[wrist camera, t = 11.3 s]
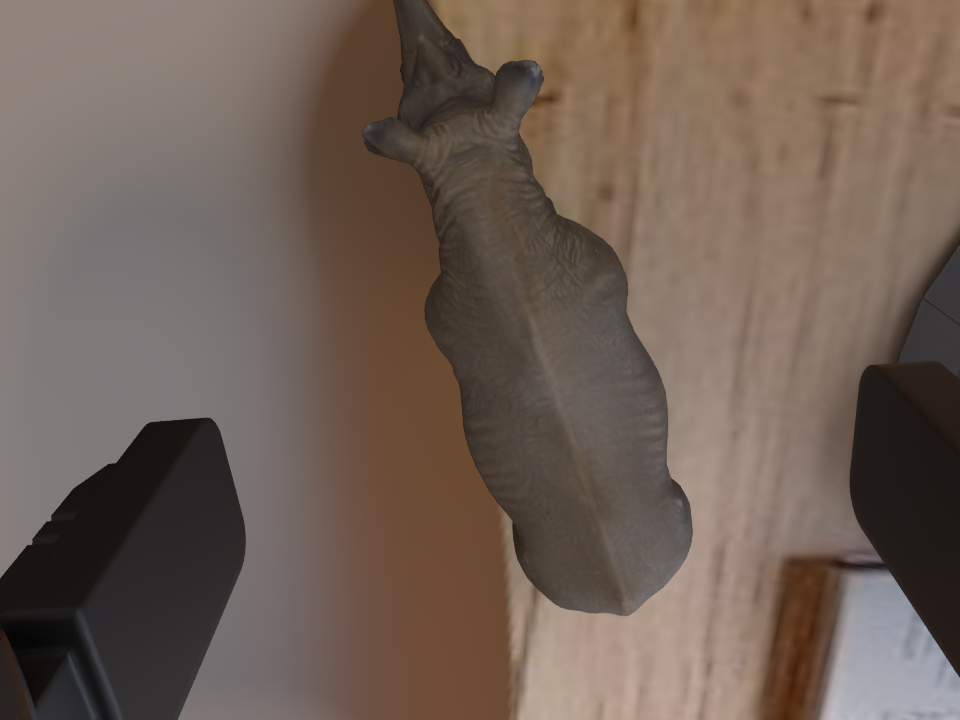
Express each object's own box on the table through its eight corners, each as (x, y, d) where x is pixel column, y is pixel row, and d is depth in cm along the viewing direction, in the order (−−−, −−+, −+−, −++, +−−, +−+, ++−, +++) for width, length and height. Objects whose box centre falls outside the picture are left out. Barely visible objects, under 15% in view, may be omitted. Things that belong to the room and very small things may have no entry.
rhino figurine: (515, -79, 16) (528, -115, 11) (684, 484, 22) (750, 652, 16) (324, -3, 17) (244, 0, 11) (533, 527, 22) (548, 703, 17)
